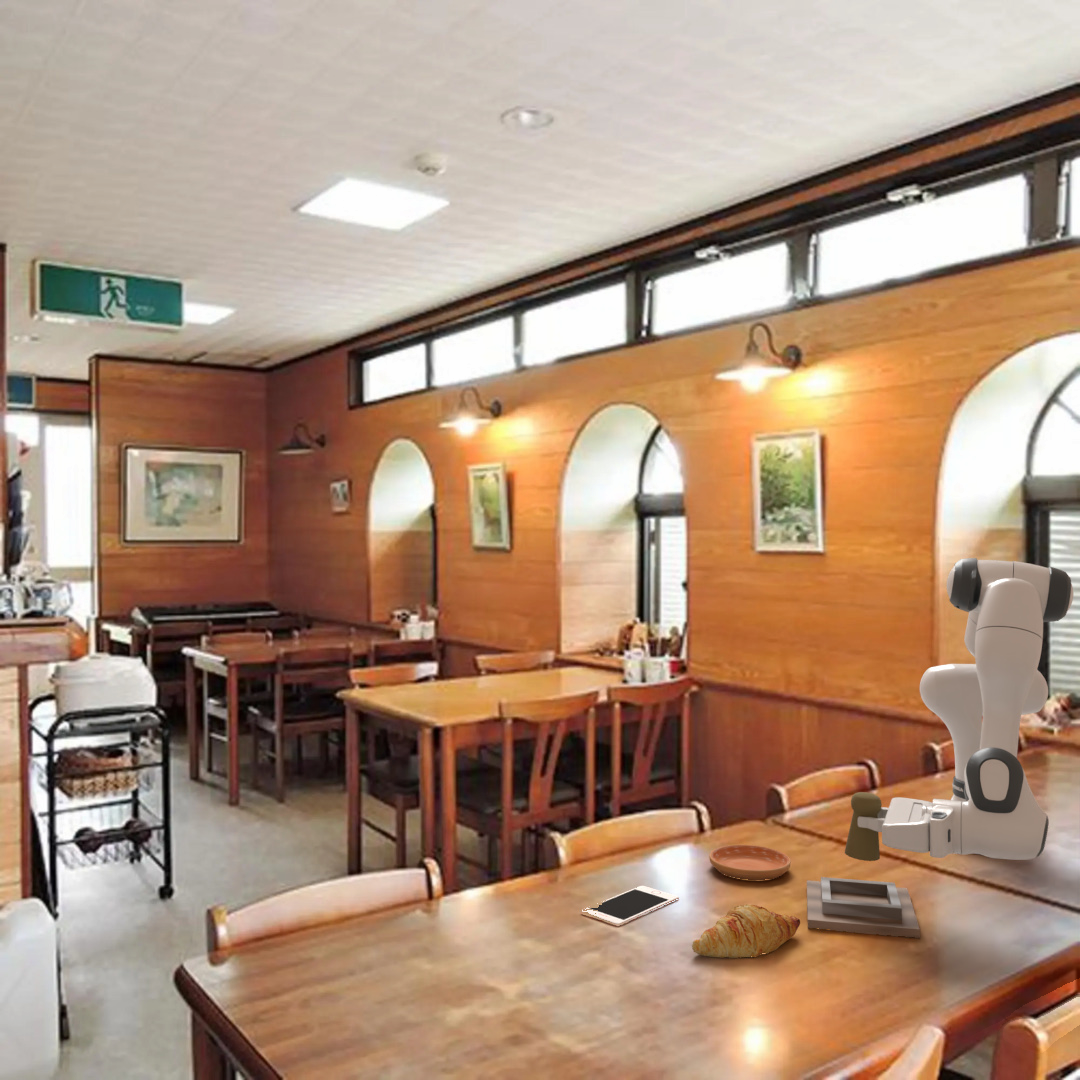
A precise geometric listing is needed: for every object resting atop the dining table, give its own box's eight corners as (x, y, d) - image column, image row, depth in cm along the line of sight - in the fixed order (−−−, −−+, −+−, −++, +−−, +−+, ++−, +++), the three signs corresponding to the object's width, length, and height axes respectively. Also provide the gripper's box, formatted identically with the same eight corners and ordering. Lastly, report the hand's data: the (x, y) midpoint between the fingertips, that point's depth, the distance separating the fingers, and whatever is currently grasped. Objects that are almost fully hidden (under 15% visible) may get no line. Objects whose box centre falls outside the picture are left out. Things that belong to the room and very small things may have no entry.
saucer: (797, 864, 206) (797, 850, 206) (781, 890, 192) (781, 874, 192) (720, 854, 213) (720, 840, 213) (699, 878, 198) (699, 863, 198)
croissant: (704, 987, 158) (718, 952, 155) (671, 937, 166) (683, 902, 163) (808, 958, 168) (823, 924, 164) (772, 912, 176) (786, 878, 172)
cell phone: (680, 901, 187) (680, 896, 187) (618, 929, 174) (618, 923, 174) (642, 889, 193) (642, 884, 193) (579, 915, 180) (579, 910, 180)
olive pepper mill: (882, 862, 176) (887, 800, 176) (847, 858, 177) (851, 796, 177) (876, 851, 182) (881, 790, 182) (842, 847, 183) (846, 787, 183)
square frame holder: (806, 888, 192) (806, 869, 192) (907, 896, 187) (907, 877, 187) (807, 928, 173) (807, 907, 172) (919, 938, 168) (919, 917, 168)
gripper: (945, 793, 184) (866, 785, 189) (940, 823, 165) (852, 814, 171) (945, 827, 184) (866, 819, 189) (940, 861, 165) (852, 851, 171)
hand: (859, 817), depth 180 cm, fingers closed on olive pepper mill, 4 cm apart
